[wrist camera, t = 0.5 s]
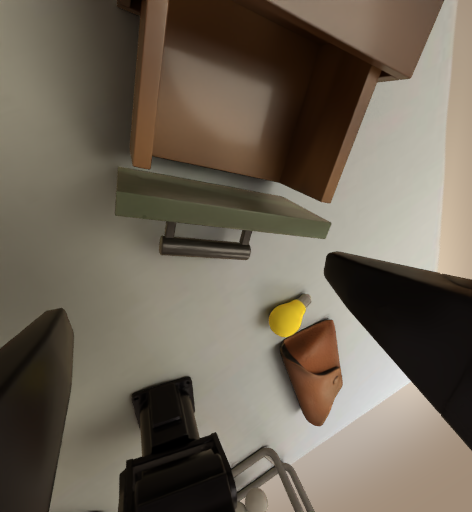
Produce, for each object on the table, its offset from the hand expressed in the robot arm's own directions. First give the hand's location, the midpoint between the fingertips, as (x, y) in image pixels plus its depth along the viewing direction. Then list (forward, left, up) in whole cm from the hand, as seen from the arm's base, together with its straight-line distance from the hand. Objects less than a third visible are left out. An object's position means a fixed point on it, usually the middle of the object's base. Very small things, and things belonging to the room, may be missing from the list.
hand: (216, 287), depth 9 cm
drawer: (+3, -4, -13) cm, 14 cm away
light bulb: (-15, -12, -14) cm, 24 cm away
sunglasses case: (-28, -18, -14) cm, 36 cm away
